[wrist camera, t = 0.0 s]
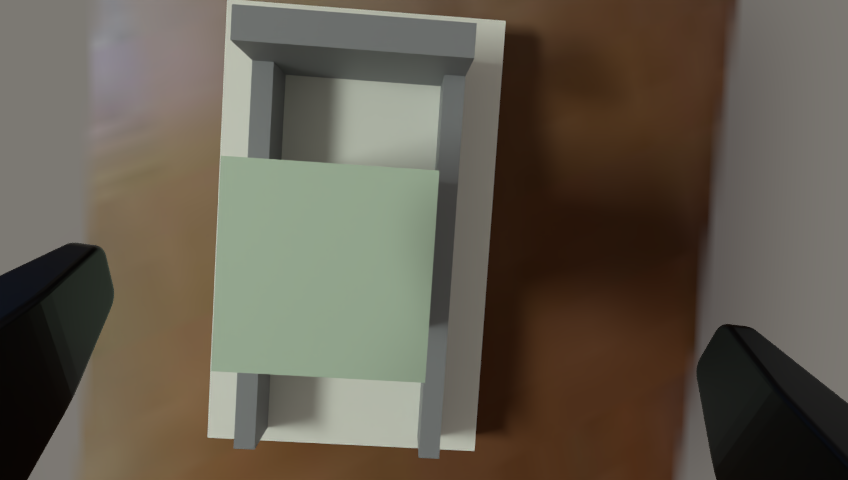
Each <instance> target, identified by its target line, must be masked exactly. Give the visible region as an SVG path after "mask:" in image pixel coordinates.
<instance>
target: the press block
mask: <svg viewBox="0 0 848 480" xmlns="http://www.w3.org/2000/svg"><path fill="white" fill-rule="evenodd" d="M438 184H439V171H438V170H424V169H409V168H394V167H380V166H365V165H351V164H336V163H321V162H307V161H292V160H277V159H263V158H248V157H234V156H221V164H220V186H219V209H218V231H217V253H216V275H215V297H214V319H213V342H212V364H211V371H217V372H235V373H254V374H272V375H290V376H308V377H327V378H345V379H363V380H381V381H400V382H418V383H425V377H426V363H427V348H428V333H429V318H430V303H431V288H432V273H433V259H434V244H435V229H436V214H437V199H438Z"/></svg>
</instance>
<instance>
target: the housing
mask: <svg viewBox="0 0 848 480" xmlns="http://www.w3.org/2000/svg"><path fill="white" fill-rule="evenodd" d="M505 24H506V21H500V20H487V19H475V18H462V17H449V16H436V15H423V14H411V13H398V12H385V11H372V10H360V9H347V8H334V7H321V6H308V5H296V4H283V3H270V2H257V1H245V0H227V16H226V38H225V60H224V82H223V104H222V127H221V149H220V164H221V156H234V157H248V158H263V159H277V160H292V161H307V162H321V163H336V164H351V165H365V166H380V167H394V168H409V169H424V170H438V171H439V184H438V199H437V214H436V229H435V244H434V259H433V273H432V288H431V303H430V318H429V333H428V348H427V363H426V377H425V383H418V382H400V381H381V380H363V379H345V378H327V377H308V376H290V375H272V374H254V373H235V372H217V371H210V393H209V415H208V438H227V439H234V448H235V449H255V448H256V446H257V444H258V443H259V441H260V440H267V441H287V442H306V443H326V444H346V445H366V446H385V447H405V448H418V455H419V458H436V459H439V451H440V449H445V450H465V451H474V449H475V436H476V422H477V408H478V395H479V381H480V367H481V353H482V340H483V326H484V312H485V299H486V285H487V271H488V257H489V244H490V230H491V216H492V203H493V189H494V175H495V162H496V148H497V134H498V120H499V107H500V93H501V79H502V66H503V52H504V38H505ZM219 186H220V171H219ZM218 209H219V193H218ZM217 231H218V215H217ZM216 253H217V238H216ZM215 275H216V260H215ZM214 297H215V282H214ZM213 319H214V304H213ZM212 342H213V327H212ZM211 364H212V349H211Z"/></svg>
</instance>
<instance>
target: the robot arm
mask: <svg viewBox="0 0 848 480" xmlns="http://www.w3.org/2000/svg"><path fill="white" fill-rule="evenodd" d="M113 299H114V288H113V284H112V279H111V275H110V271H109V267H108V262H107V258H106V255H105V252H104V250H103V249H102V248H101V247H99V246H96V245H89V244H81V243H69V244H66V245H64V246H62V247H60V248H58V249H55V250H53V251H51V252H49V253H47V254H45V255H43V256H41V257H39V258H36V259H34V260H32V261H30V262H28V263H26V264H24V265H22V266H20V267H18V268H15V269H13V270H11V271H9V272H7V273H5V274H3V275H1V276H0V480H27V479H28V477H29V476H30V474H31V472H32V470H33V468H34V467H35V465H36V463H37V461H38V460H39V458H40V456H41V454H42V453H43V451H44V449H45V447H46V445H47V444H48V442H49V440H50V438H51V437H52V435H53V433H54V431H55V429H56V428H57V426H58V424H59V422H60V420H61V419H62V417H63V415H64V413H65V411H66V410H67V408H68V406H69V404H70V402H71V400H72V398H73V396H74V394H75V392H76V390H77V387H78V385H79V383H80V381H81V378H82V376H83V373H84V371H85V369H86V366H87V364H88V362H89V359H90V357H91V354H92V352H93V350H94V347H95V345H96V342H97V340H98V338H99V335H100V333H101V331H102V328H103V326H104V323H105V321H106V319H107V316H108V314H109V311H110V309H111V306H112V303H113ZM697 381H698V386H699V392H700V398H701V402H702V409H703V414H704V420H705V425H706V431H707V437H708V442H709V448H710V453H711V458H712V463H713V467H714V472H715V476H716V479H717V480H848V403H847V402H845V401H844V400H843V399H841V398H840V397H839V396H838V395H837V394H835V393H834V392H833V391H831V390H830V389H829V388H828V387H827V386H825V385H824V384H823V383H821V382H820V381H819V380H818V379H816V378H815V377H814V376H812V375H811V374H810V373H809V372H807V371H806V370H805V369H804V368H803V367H801V366H800V365H799V364H797V363H796V362H795V361H794V360H792V359H791V358H790V357H789V356H787V355H786V354H785V353H784V352H782V351H781V350H779V348H777V347H776V346H775V345H773V344H772V343H771V342H770V341H768V340H767V339H766V338H764V337H763V336H762V335H761V334H760V333H758V332H757V331H756V330H754V329H753V328H750V327H747V326H739V325H731V324H726V325H722V326H720V327H719V328H718V329H717V330H716V332H715V334H714V335H713V337H712V339H711V340H710V342H709V344H708V346H707V348H706V349H705V351H704V353H703V354H702V356H701V358H700V360H699V362H698V365H697Z"/></svg>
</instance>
